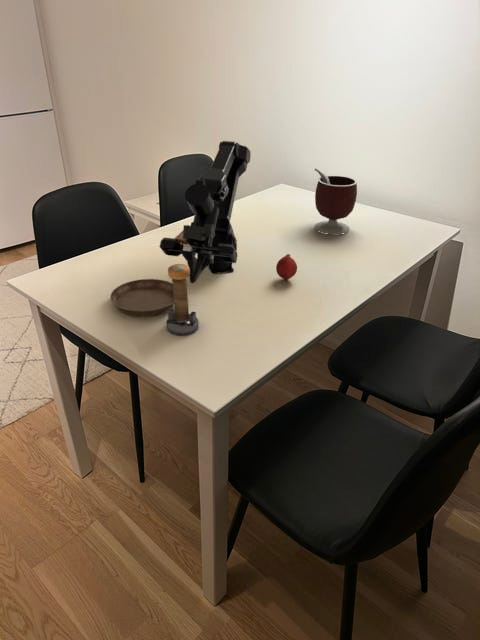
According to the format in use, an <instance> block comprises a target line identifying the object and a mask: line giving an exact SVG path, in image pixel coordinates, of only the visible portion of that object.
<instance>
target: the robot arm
mask: <svg viewBox="0 0 480 640" xmlns="http://www.w3.org/2000/svg"><path fill="white" fill-rule="evenodd" d="M251 156H252V155H251V150H250V149H249V147H247V146H246V145H242V144H240V143H239V142H236V141H229V140H223V141H220V142H219V145H218V150H217V152H216V155H215V157H214V160H213V162H212V163H211V167H210V168H209V170H207V171H205V172H202V174H201V176H200V177H199V178H198V179H196V180H195V183H193V184H192V185H190V186H189V187H188V188H187V189H186V191H185V193H184V197H185V200H186V202H187V204H188V206H189V209H190V210H191V212H192V213H193V214H194V215H193V221H191V223H190V225H189V226H187V225H188V224H187V225H183V230H182V231H183V239H186V240H185V241H186V242H188V243H189V244H188V245H187V244H183V243H180V242H179V241H178V240H177V239H175V237H173V238H172V237H163V238H162V239H161V240H160V243H159V246H158V247H159V249H161V251H162V252H163V253H164V254H165V255H166V256H171V257H179V256H180V255H182V257H183V258H184V259H185V261H186V262H187V266H189V268H190V275H189V282H190V283H191V284H195V283H196V282H197V280H198V279H199V277H200V276H201V275H202V274H203V272H204V271H205V269H207V268H208V269H209V270H210V272H211V273H212V274H213V275H214V274H222V273H230V272H231V273H232V272H234V271H235V270H234V268H233V264H236V263H237V261H238V252H237V251H238V244H237V241H238V240H237V237H236V235H235V233H234V229H233V226H232V223H231V218H232V213H233V208H234V203H235V198H236V194H237V189H238V186H239V185H238V184H239V180H240V177H241V176H242V175H243V174H244V173H245V172H246V171H247V168H248V166H249V165H248V164H250V161H251ZM196 255H197V256H196Z"/></svg>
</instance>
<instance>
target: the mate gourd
mask: <svg viewBox="0 0 480 640" xmlns="http://www.w3.org/2000/svg"><path fill="white" fill-rule="evenodd" d="M314 171H315V172H317V173H318V175H319V176H320V177H319V178H318V180H317V181H318V182H317V184H316V187H315V195H314V199H315V200H314V202H315V209H316V210H317V211H318V213H319V215H321V217H323V218H326V219H328V220H325V221H324V220H323V221H319V222H316V223H315V225H314V230H315V229H316V230H318V231H320V232H323V233H328V234H342V233H346V232H348V231H349V232H350V230H351V229H350V228H351V227H350V226H349V225H347V224H346V223H343V222H340V221H338V220H342V219H344V218H345V219H346V218H348V216H349V215H350V214H351V213H352V212H353V210H354V207H355V205H356V201H357V194H358V186H357V183H358V182H357V180H356V179H355V178H352V177H349V176H345V175H334V174H333V175H326V173H325V172H324V171H322V170H320V169H319V168H317V167H316V168H314ZM349 229H350V230H349ZM316 230H315V231H316ZM318 231H317V232H318ZM320 232H319V233H320ZM349 232H348V233H349ZM323 233H322V234H323ZM346 234H347V233H346Z"/></svg>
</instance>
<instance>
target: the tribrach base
mask: <svg viewBox="0 0 480 640" xmlns="http://www.w3.org/2000/svg"><path fill="white" fill-rule="evenodd" d="M167 316H168V317H167V320H166V324H165V325H166V330H167V332H168V333H169V334H170V335H174V336H179V337H183V336H190V335H192V334H195V333H196V332H197V331H198V330H199V319H198V318H197V312H196V311H191V312H190V313H189V319H188V320H186V321H178V320H176V318H175V308H170V309H169V310H168V312H167Z"/></svg>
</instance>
